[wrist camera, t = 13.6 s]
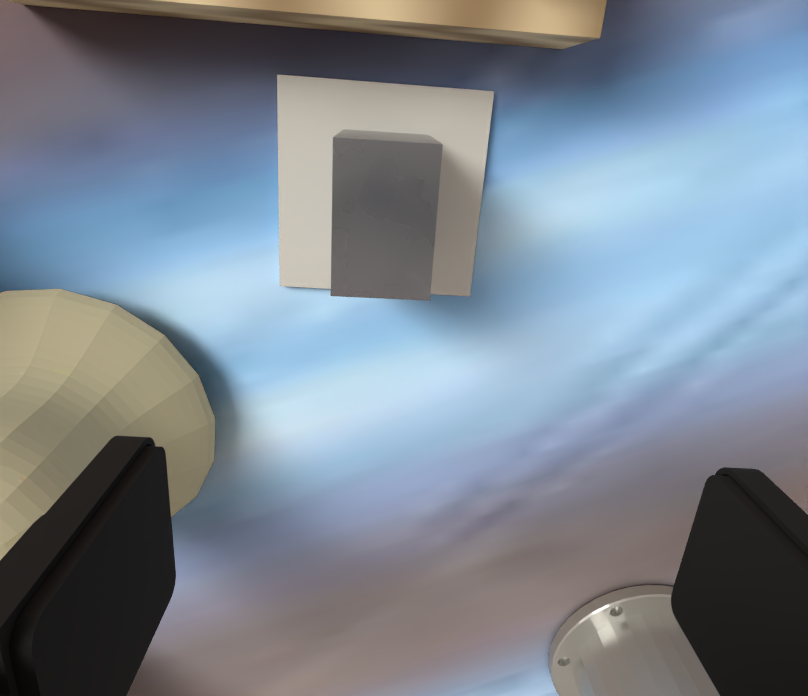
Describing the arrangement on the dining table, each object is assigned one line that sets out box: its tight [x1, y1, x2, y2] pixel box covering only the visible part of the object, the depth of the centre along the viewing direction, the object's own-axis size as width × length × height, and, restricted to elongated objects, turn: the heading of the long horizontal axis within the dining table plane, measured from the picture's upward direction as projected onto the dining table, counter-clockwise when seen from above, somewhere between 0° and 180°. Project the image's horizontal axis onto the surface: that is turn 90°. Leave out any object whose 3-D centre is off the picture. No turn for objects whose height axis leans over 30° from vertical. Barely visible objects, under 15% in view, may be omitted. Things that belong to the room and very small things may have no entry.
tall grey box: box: [331, 129, 443, 301], centre depth 26 cm, size 4×6×7 cm, turn 176°
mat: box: [277, 75, 494, 296], centre depth 29 cm, size 10×10×1 cm
